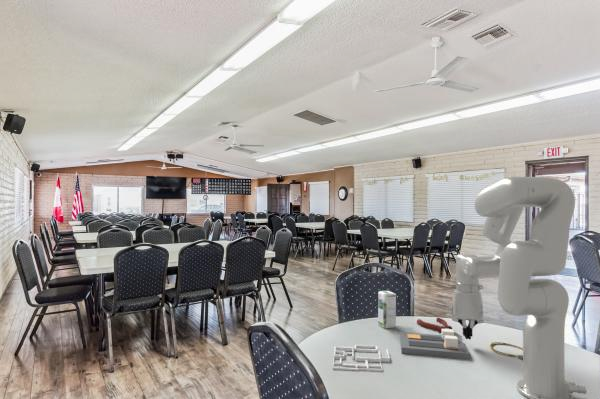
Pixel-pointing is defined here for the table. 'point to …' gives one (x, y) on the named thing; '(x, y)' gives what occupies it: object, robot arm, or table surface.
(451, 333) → the tab
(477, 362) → the table surface
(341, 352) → the floor plan model
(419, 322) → the pliers
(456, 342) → the tab
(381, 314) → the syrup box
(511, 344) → the extension cord
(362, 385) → the table surface
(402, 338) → the switch panel
